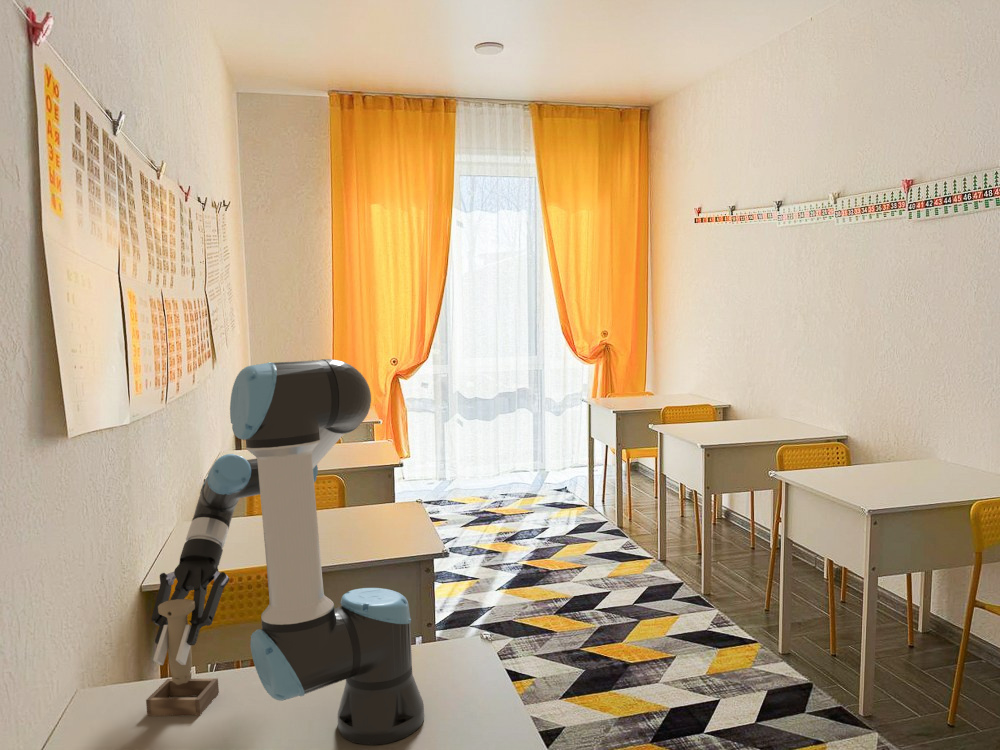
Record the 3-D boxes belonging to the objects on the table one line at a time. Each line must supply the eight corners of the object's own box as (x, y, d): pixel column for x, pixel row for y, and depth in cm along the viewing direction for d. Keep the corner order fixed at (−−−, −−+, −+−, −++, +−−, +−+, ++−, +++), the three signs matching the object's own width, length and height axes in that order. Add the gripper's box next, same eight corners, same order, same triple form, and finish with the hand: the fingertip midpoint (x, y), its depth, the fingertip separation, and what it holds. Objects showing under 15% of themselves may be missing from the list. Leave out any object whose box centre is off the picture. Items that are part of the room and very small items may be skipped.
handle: (191, 688, 135) (185, 609, 134) (158, 687, 136) (152, 609, 135) (204, 675, 140) (199, 599, 139) (173, 674, 141) (167, 599, 140)
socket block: (218, 693, 141) (217, 678, 141) (200, 715, 134) (199, 699, 133) (168, 693, 142) (167, 678, 142) (147, 715, 134) (146, 700, 134)
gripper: (250, 553, 151) (220, 669, 136) (172, 554, 152) (134, 669, 137) (238, 535, 145) (206, 655, 130) (157, 537, 146) (116, 655, 131)
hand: (169, 662), depth 134 cm, fingers closed on handle, 3 cm apart
